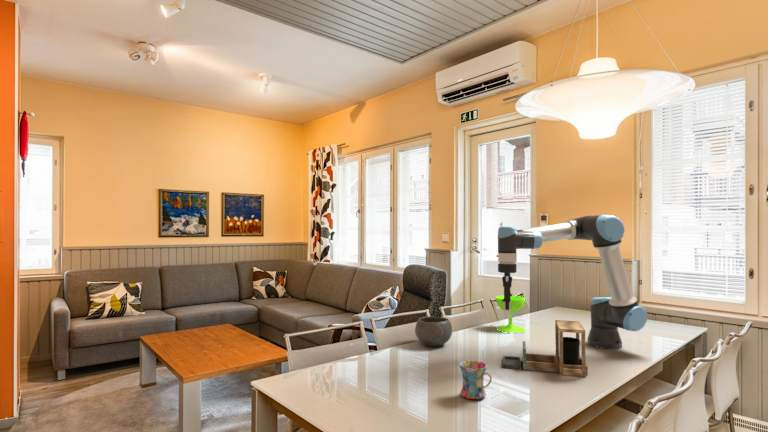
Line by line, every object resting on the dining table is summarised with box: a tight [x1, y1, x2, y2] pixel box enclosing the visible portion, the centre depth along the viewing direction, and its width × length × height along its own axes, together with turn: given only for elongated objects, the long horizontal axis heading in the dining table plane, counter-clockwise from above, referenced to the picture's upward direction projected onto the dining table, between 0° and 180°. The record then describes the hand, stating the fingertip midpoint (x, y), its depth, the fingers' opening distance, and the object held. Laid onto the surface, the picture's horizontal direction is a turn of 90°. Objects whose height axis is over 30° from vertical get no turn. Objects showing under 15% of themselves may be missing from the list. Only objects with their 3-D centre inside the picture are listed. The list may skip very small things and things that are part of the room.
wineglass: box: [495, 295, 526, 333], centre depth 239 cm, size 16×16×18 cm
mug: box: [458, 360, 493, 400], centre depth 144 cm, size 12×9×11 cm
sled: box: [522, 341, 589, 376], centre depth 175 cm, size 24×12×8 cm, turn 74°
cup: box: [563, 336, 581, 365], centre depth 173 cm, size 8×8×12 cm
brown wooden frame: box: [554, 319, 587, 378], centre depth 173 cm, size 9×16×18 cm, turn 164°
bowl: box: [414, 316, 453, 347], centre depth 209 cm, size 18×18×13 cm
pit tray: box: [502, 355, 522, 370], centre depth 179 cm, size 7×12×2 cm, turn 163°
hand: (507, 314), depth 180 cm, fingers open, 12 cm apart
